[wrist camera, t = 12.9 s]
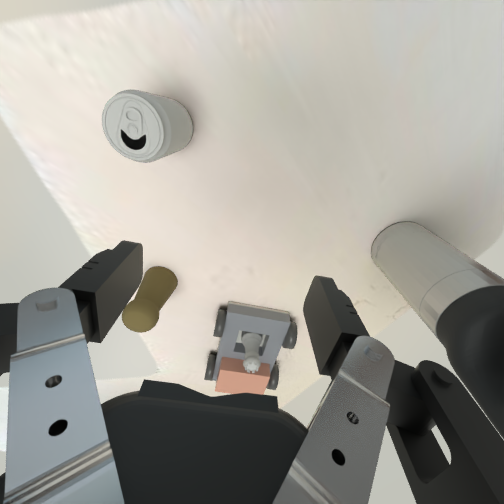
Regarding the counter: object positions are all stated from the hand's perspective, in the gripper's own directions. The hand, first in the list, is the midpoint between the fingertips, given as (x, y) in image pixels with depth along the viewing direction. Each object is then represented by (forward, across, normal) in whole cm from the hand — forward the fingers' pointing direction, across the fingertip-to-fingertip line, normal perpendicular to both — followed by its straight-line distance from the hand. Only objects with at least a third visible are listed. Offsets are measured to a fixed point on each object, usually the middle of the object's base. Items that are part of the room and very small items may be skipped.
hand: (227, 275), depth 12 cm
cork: (+28, +11, +23) cm, 38 cm away
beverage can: (+28, +11, -3) cm, 30 cm away
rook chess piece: (+28, -8, +32) cm, 43 cm away
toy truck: (+28, -8, +35) cm, 45 cm away
